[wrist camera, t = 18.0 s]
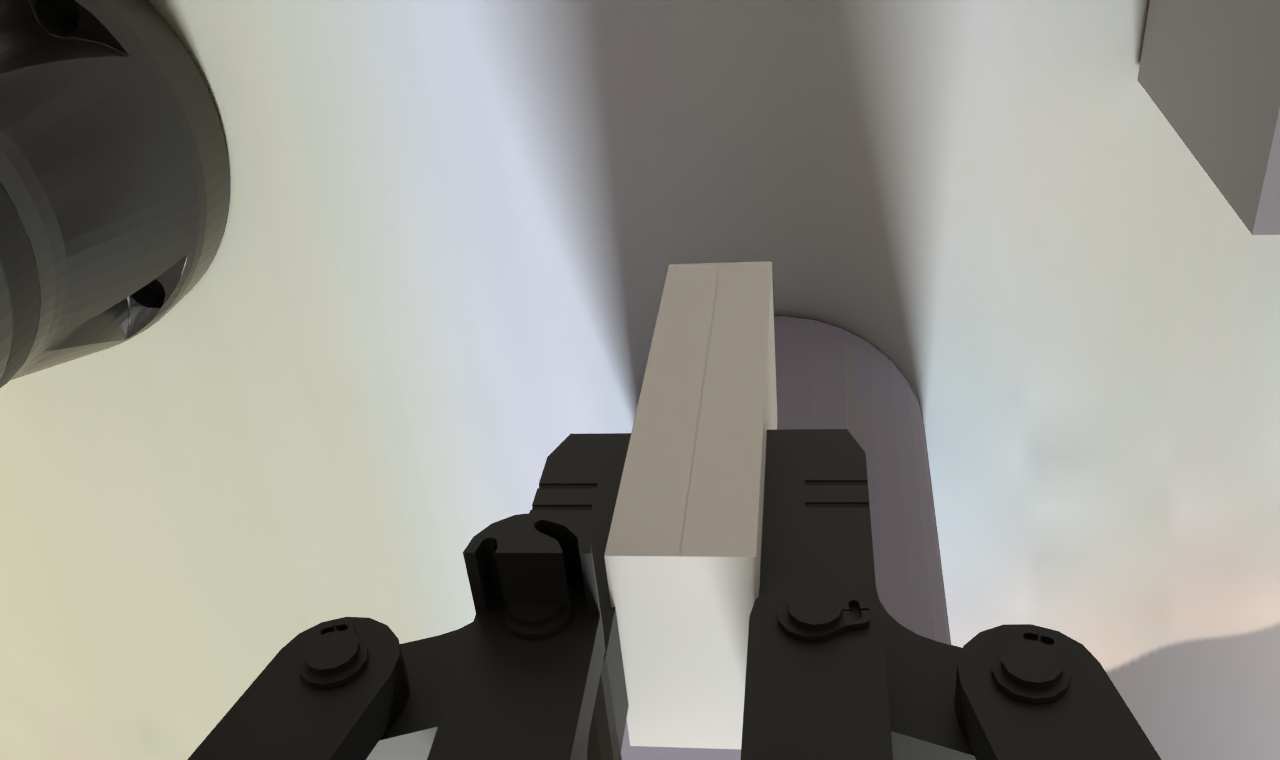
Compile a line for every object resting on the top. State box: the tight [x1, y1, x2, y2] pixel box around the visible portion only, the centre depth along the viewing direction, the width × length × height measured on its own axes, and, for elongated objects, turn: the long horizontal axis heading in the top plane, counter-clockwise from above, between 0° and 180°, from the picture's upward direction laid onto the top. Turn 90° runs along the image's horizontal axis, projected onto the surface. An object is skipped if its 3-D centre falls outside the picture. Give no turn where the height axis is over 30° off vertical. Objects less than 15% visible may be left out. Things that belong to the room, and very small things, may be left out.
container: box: [621, 316, 951, 760], centre depth 36 cm, size 10×10×15 cm
